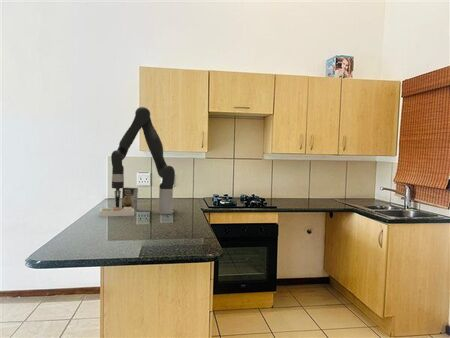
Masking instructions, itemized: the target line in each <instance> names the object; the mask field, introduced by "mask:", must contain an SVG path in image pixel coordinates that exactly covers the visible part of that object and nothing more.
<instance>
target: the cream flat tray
mask: <svg viewBox="0 0 450 338" xmlns="http://www.w3.org/2000/svg"><path fill="white" fill-rule="evenodd" d="M134 216H135V211H134V209H132V210H123V209H122V210H121V211H113V208H111V211H102V208H100V209H99V217H100V218H103V217H106V218H107V217H134Z"/></svg>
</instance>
